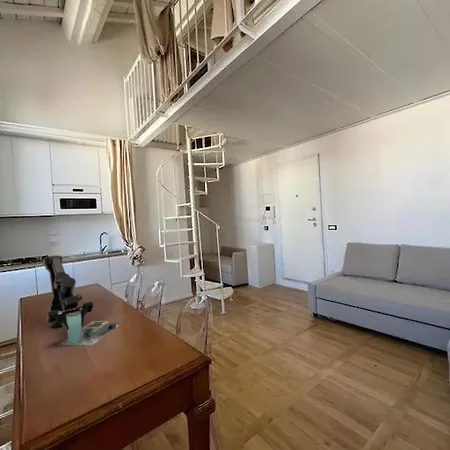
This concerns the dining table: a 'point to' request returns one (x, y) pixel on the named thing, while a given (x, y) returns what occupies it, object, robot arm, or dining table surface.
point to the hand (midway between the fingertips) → (75, 327)
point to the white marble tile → (93, 332)
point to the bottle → (74, 327)
